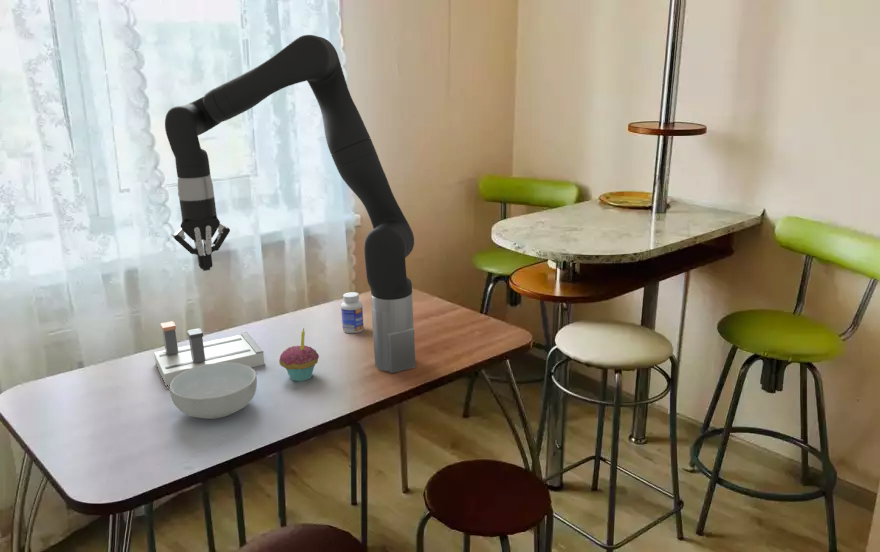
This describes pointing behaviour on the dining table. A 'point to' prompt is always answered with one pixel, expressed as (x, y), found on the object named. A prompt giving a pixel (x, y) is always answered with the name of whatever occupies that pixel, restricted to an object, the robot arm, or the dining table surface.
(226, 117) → the robot arm
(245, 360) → the console
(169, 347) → the terracotta fader
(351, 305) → the pill bottle
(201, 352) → the black fader
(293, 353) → the cupcake
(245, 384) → the cereal bowl
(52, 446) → the dining table surface
